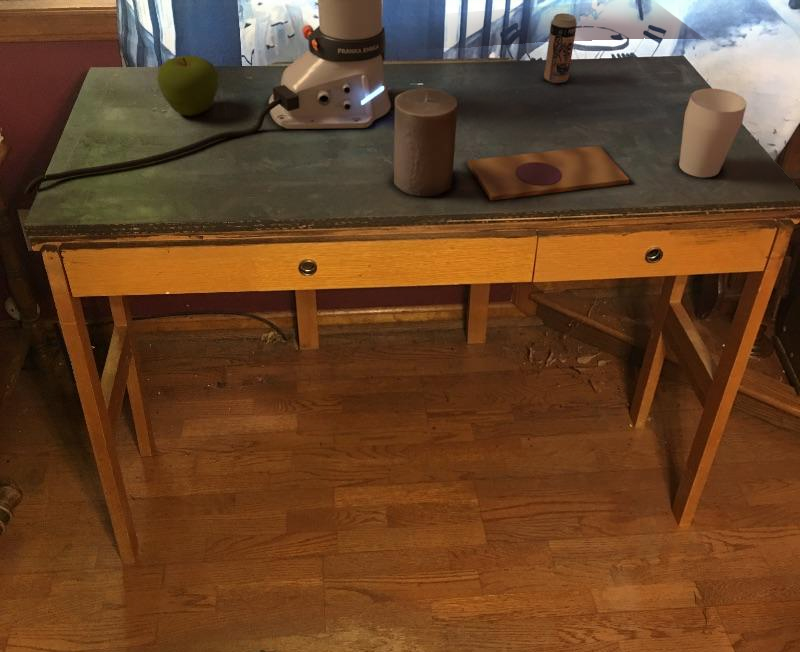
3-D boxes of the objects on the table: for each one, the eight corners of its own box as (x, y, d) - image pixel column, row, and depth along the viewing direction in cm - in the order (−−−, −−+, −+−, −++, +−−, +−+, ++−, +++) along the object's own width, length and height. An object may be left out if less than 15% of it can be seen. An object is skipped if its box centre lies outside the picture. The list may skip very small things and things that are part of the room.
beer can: (552, 86, 168) (561, 23, 160) (538, 77, 171) (547, 14, 163) (572, 82, 170) (582, 19, 161) (558, 72, 173) (567, 11, 164)
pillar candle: (456, 171, 143) (463, 83, 132) (446, 201, 136) (452, 110, 126) (399, 164, 144) (401, 76, 134) (387, 193, 137) (388, 103, 127)
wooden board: (490, 200, 136) (491, 195, 136) (467, 164, 145) (467, 159, 144) (628, 183, 141) (629, 178, 140) (598, 149, 149) (599, 144, 149)
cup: (728, 184, 141) (750, 115, 133) (672, 178, 143) (690, 109, 134) (724, 158, 148) (745, 91, 140) (671, 152, 149) (688, 85, 141)
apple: (196, 130, 152) (187, 75, 145) (150, 116, 155) (140, 61, 148) (234, 107, 159) (227, 53, 152) (189, 94, 162) (181, 41, 155)
